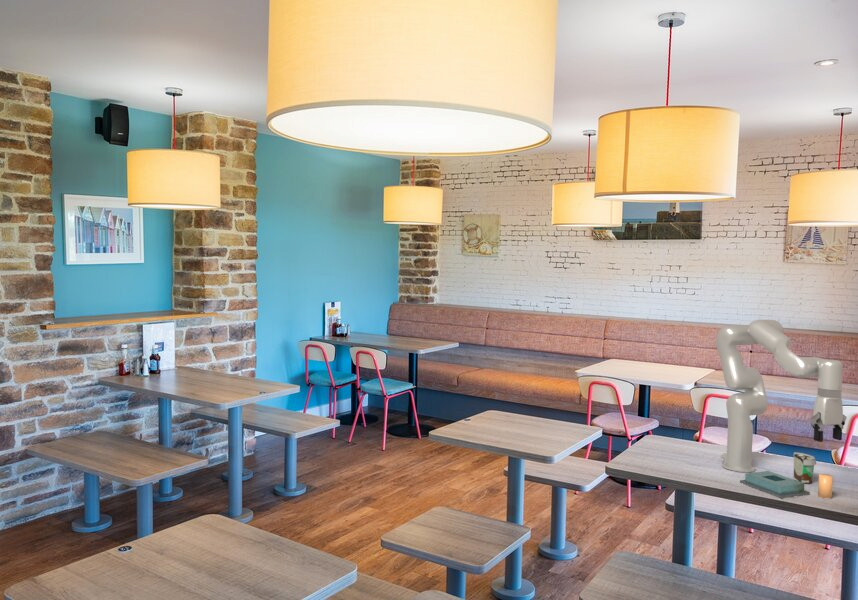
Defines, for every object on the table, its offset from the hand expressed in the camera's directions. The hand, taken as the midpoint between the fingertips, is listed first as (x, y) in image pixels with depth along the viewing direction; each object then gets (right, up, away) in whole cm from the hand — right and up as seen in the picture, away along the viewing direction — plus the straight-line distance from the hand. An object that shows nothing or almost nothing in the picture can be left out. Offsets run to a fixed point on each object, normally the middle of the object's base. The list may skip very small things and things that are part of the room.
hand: (827, 440), depth 245 cm
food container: (+3, -21, +19) cm, 28 cm away
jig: (-15, -20, +9) cm, 27 cm away
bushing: (-1, -21, +1) cm, 21 cm away
